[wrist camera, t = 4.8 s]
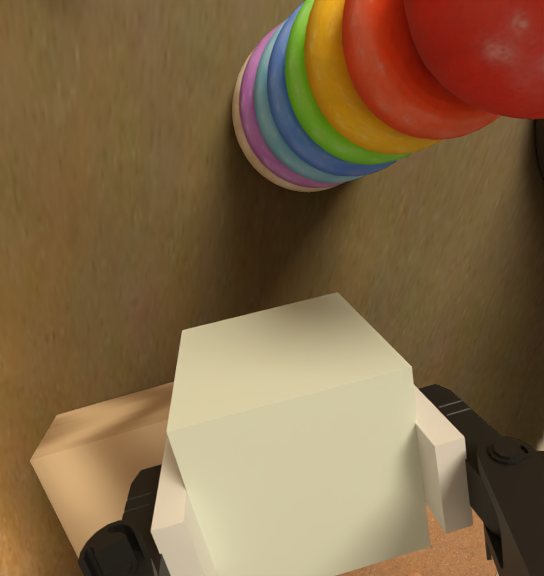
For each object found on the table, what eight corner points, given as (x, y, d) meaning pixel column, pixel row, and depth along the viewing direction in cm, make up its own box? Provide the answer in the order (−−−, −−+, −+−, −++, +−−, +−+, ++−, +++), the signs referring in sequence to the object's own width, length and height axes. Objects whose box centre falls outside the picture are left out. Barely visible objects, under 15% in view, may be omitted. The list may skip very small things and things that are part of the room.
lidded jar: (316, 392, 27) (375, 503, 18) (451, 425, 29) (562, 535, 20) (262, 525, 29) (291, 684, 20) (393, 544, 31) (470, 691, 22)
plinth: (222, 367, 25) (226, 402, 21) (259, 494, 28) (269, 545, 24) (56, 415, 24) (29, 460, 20) (113, 541, 27) (99, 601, 23)
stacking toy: (380, 179, 23) (945, 196, 6) (244, 201, 23) (410, 305, 5) (370, 23, 21) (1264, -765, 3) (218, 40, 20) (352, -933, 2)
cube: (337, 292, 16) (412, 366, 10) (358, 421, 17) (430, 546, 12) (182, 330, 15) (166, 431, 9) (220, 459, 17) (227, 608, 11)
